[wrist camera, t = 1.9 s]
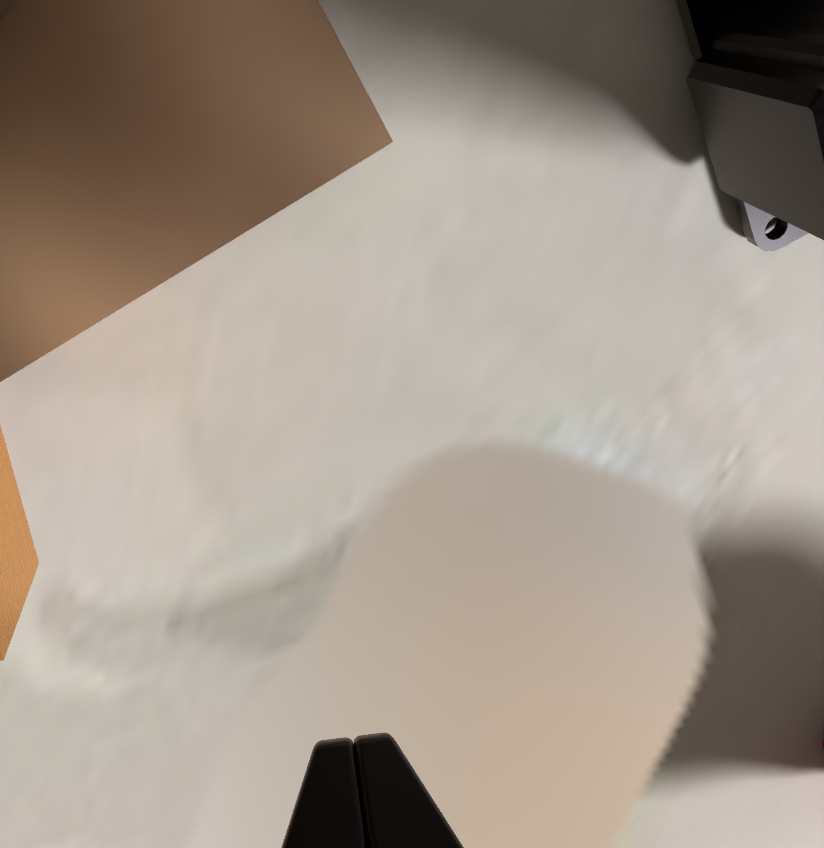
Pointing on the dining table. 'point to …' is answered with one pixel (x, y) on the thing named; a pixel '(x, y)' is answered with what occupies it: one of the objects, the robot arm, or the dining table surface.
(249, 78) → the base plate
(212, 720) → the dining table surface
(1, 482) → the wood-handled metal tool
